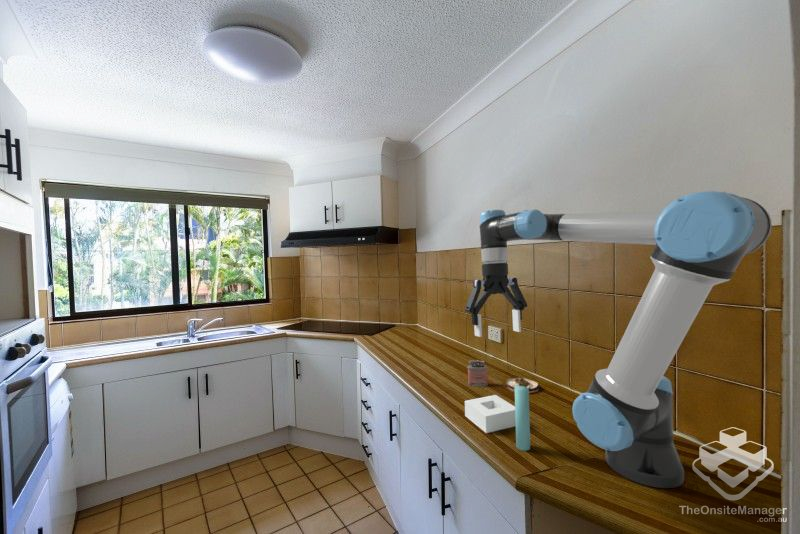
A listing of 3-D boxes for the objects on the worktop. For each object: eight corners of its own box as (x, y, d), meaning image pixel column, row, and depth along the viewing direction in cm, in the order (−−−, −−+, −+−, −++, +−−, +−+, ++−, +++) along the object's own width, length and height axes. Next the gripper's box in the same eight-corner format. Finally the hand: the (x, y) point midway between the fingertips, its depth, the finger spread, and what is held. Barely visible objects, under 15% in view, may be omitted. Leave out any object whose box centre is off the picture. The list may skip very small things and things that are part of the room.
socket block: (519, 425, 101) (519, 409, 101) (486, 433, 97) (485, 416, 97) (495, 409, 113) (495, 394, 113) (465, 415, 109) (464, 400, 109)
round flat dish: (551, 392, 127) (551, 381, 126) (520, 399, 121) (519, 388, 121) (524, 379, 140) (524, 370, 140) (495, 385, 135) (494, 375, 135)
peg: (533, 449, 88) (531, 389, 88) (522, 452, 87) (520, 391, 87) (524, 442, 92) (522, 385, 92) (513, 445, 91) (511, 387, 90)
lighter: (487, 383, 137) (486, 359, 137) (488, 386, 134) (487, 361, 134) (467, 383, 138) (466, 359, 138) (468, 386, 134) (467, 361, 134)
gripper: (520, 261, 106) (524, 327, 106) (451, 264, 98) (454, 336, 98) (537, 260, 99) (540, 331, 99) (464, 263, 91) (467, 340, 91)
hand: (498, 333), depth 99 cm, fingers open, 13 cm apart
